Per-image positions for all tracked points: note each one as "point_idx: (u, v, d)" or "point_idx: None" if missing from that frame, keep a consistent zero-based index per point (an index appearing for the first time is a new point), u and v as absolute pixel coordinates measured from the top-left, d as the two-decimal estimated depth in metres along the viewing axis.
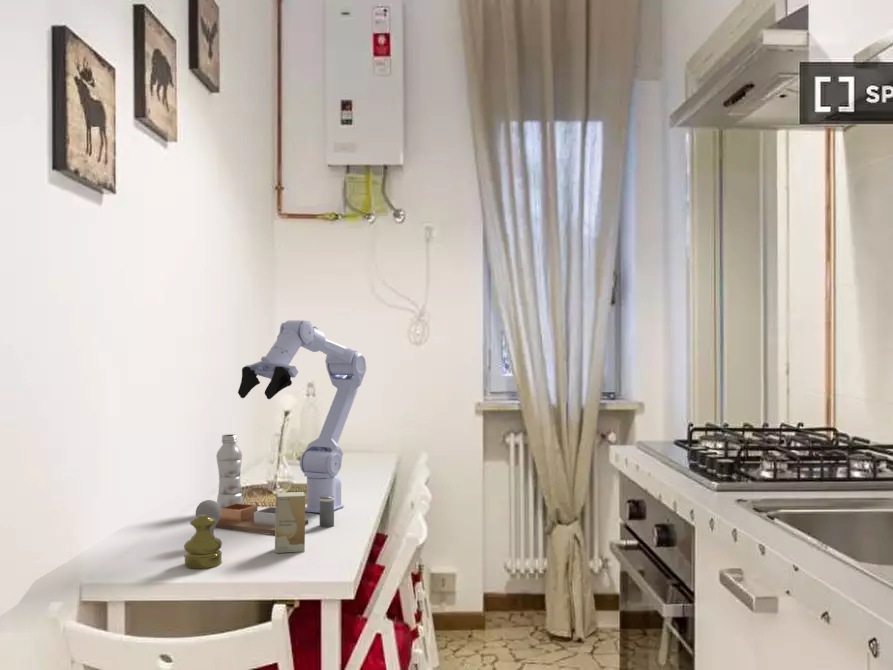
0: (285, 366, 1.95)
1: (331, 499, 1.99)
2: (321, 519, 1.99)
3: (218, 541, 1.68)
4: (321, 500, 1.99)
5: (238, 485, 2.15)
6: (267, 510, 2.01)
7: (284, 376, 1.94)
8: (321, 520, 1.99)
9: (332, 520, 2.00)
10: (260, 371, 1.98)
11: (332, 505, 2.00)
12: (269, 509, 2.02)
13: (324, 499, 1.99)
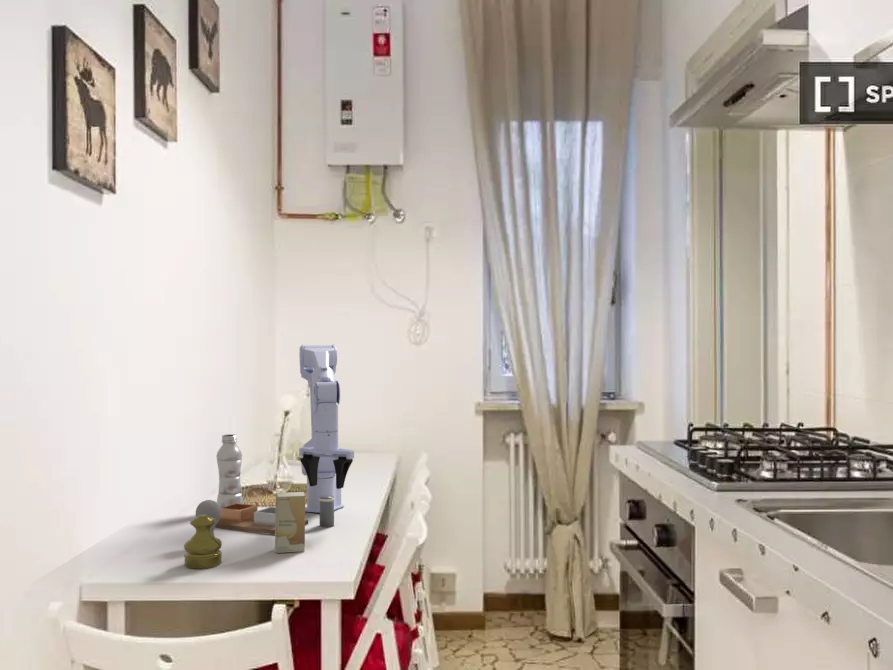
0: (340, 453, 1.97)
1: (331, 499, 1.99)
2: (321, 519, 1.99)
3: (218, 541, 1.68)
4: (321, 500, 1.99)
5: (238, 485, 2.15)
6: (267, 510, 2.01)
7: None
8: (321, 520, 1.99)
9: (332, 520, 2.00)
10: (317, 454, 2.01)
11: (332, 505, 2.00)
12: (269, 509, 2.02)
13: (324, 499, 1.99)
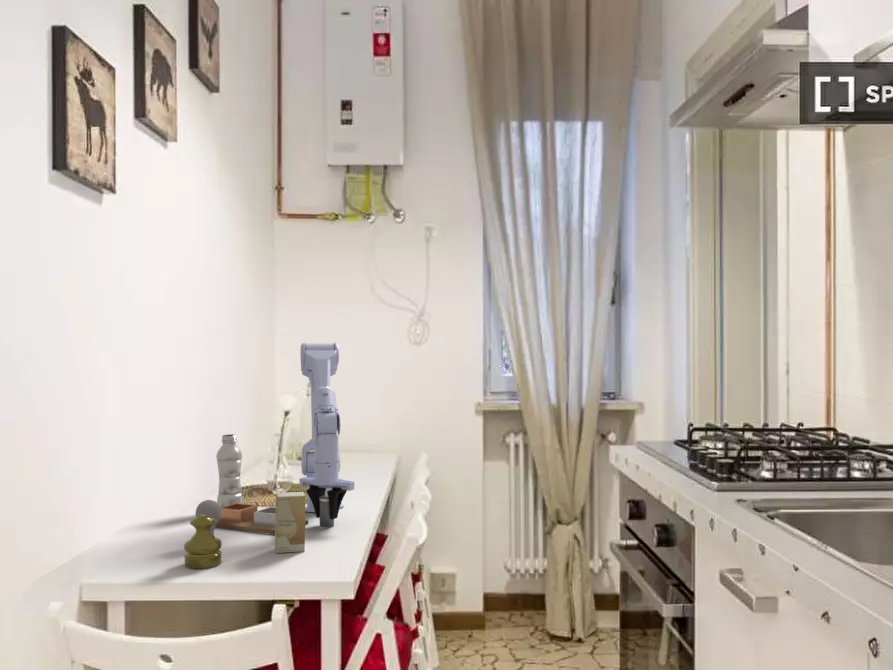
0: (341, 484, 1.97)
1: None
2: (321, 519, 1.99)
3: (218, 541, 1.68)
4: (321, 500, 1.99)
5: (238, 485, 2.15)
6: (267, 510, 2.01)
7: None
8: (321, 520, 1.99)
9: (332, 520, 2.00)
10: (317, 485, 2.01)
11: None
12: (269, 509, 2.02)
13: (324, 499, 1.99)
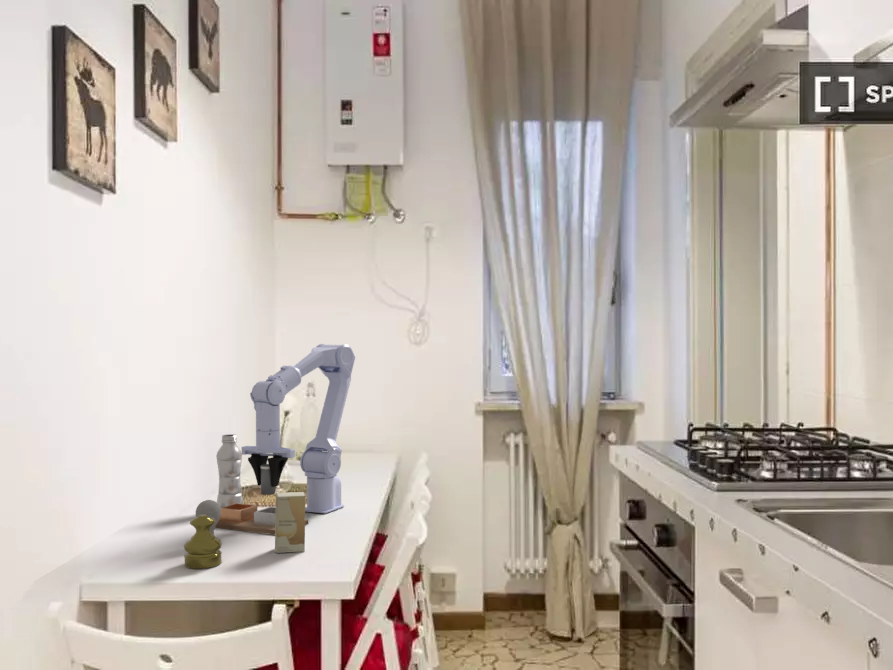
0: (281, 452, 1.99)
1: None
2: (262, 486, 2.01)
3: (218, 541, 1.68)
4: (262, 468, 2.01)
5: (238, 485, 2.15)
6: (267, 510, 2.01)
7: None
8: (262, 487, 2.01)
9: (273, 488, 2.01)
10: (259, 453, 2.03)
11: None
12: (269, 509, 2.02)
13: (265, 467, 2.00)
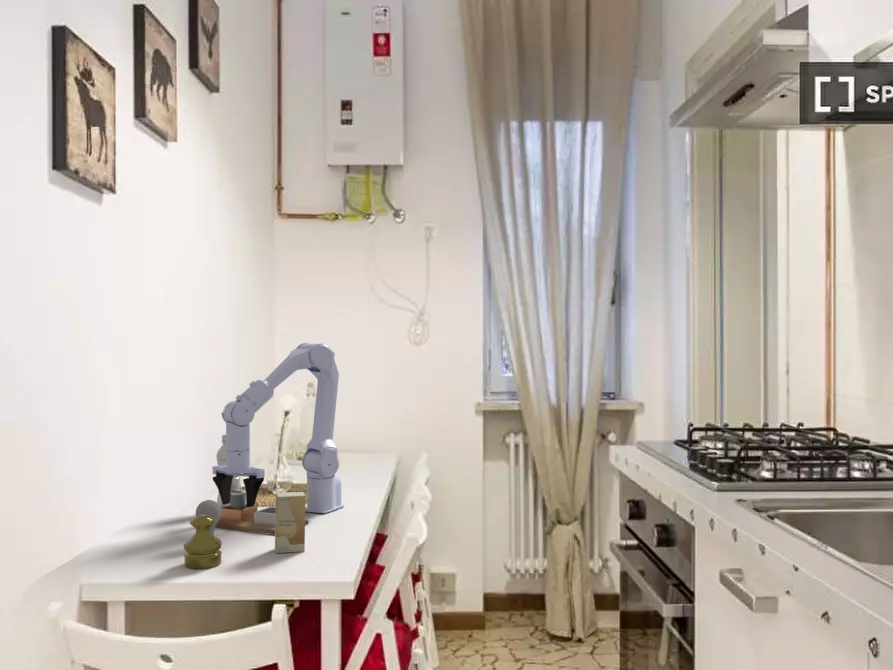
0: (250, 472, 2.00)
1: (242, 493, 2.02)
2: None
3: (218, 541, 1.68)
4: (232, 494, 2.02)
5: (238, 485, 2.15)
6: (267, 510, 2.01)
7: None
8: None
9: None
10: (229, 473, 2.04)
11: (243, 499, 2.03)
12: (269, 509, 2.02)
13: (235, 493, 2.02)
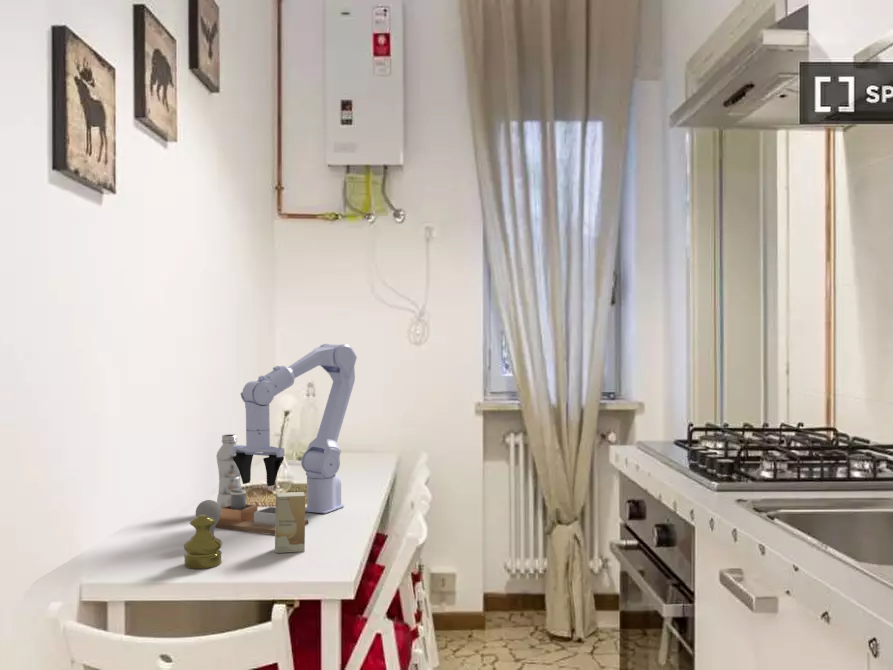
0: (271, 451, 2.01)
1: (242, 493, 2.02)
2: None
3: (218, 541, 1.68)
4: (232, 493, 2.02)
5: (238, 485, 2.15)
6: (267, 510, 2.01)
7: None
8: None
9: None
10: (249, 452, 2.05)
11: (243, 499, 2.03)
12: (269, 509, 2.02)
13: (235, 493, 2.02)
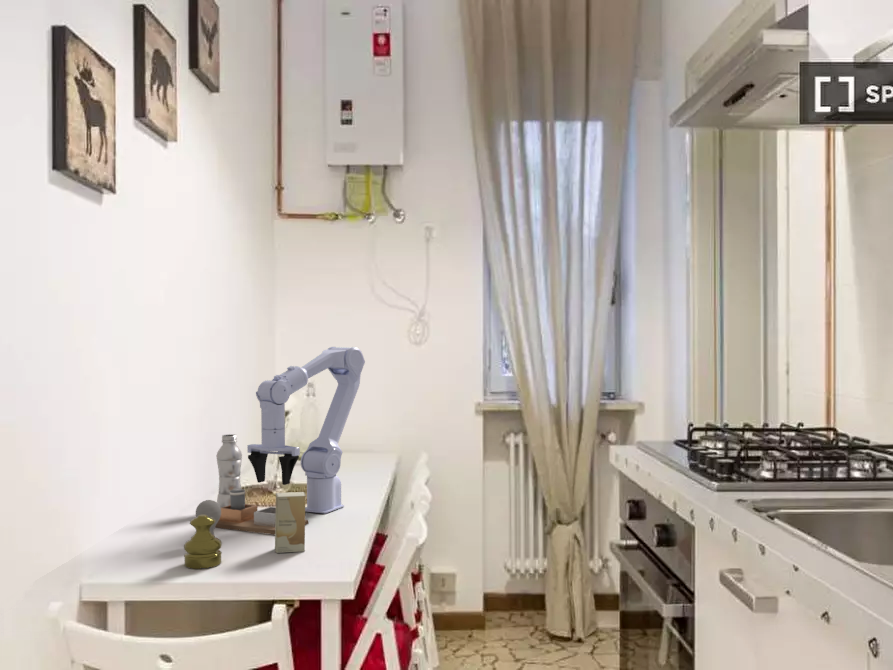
0: (286, 450, 2.02)
1: (241, 493, 2.02)
2: None
3: (218, 541, 1.68)
4: (231, 494, 2.02)
5: (238, 485, 2.15)
6: (267, 510, 2.01)
7: None
8: None
9: None
10: (264, 451, 2.06)
11: (242, 499, 2.02)
12: (269, 509, 2.02)
13: (234, 493, 2.02)
